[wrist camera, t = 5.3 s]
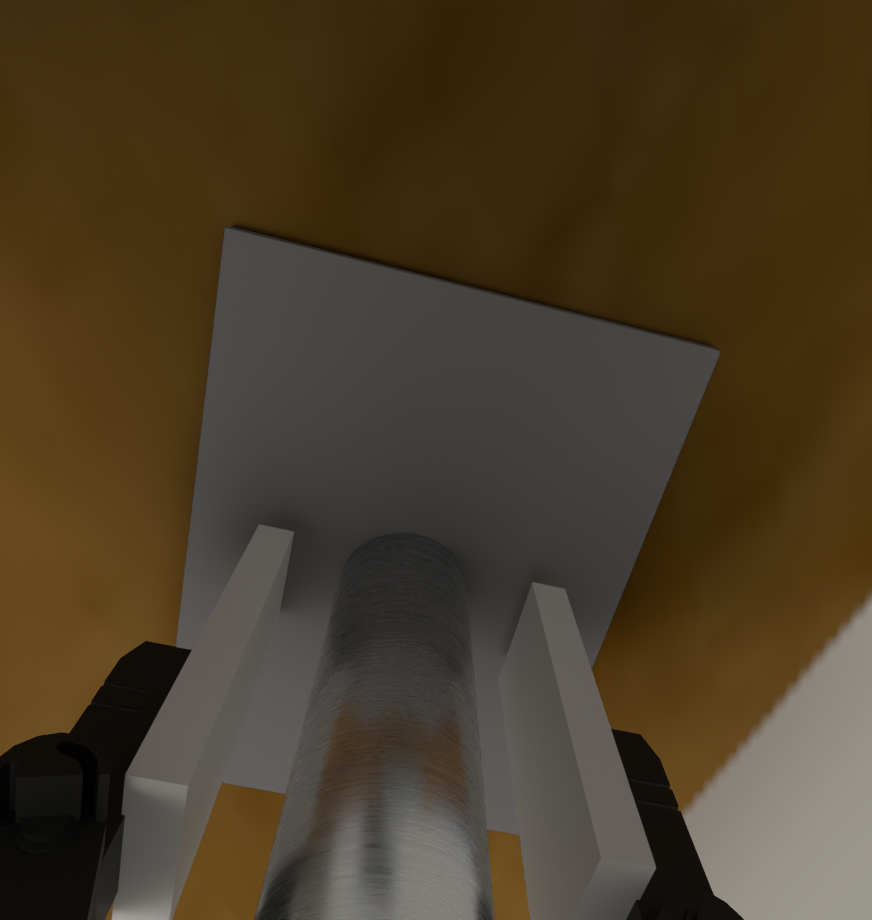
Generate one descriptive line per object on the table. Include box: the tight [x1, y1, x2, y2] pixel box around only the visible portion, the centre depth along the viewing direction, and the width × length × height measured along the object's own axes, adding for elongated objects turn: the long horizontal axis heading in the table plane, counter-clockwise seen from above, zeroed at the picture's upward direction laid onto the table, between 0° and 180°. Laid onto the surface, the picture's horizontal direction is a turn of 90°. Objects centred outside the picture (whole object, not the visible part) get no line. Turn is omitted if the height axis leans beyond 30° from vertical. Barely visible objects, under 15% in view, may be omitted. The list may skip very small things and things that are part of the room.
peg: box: [254, 533, 494, 920], centre depth 10 cm, size 3×3×11 cm
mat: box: [176, 227, 721, 835], centre depth 16 cm, size 10×14×1 cm
